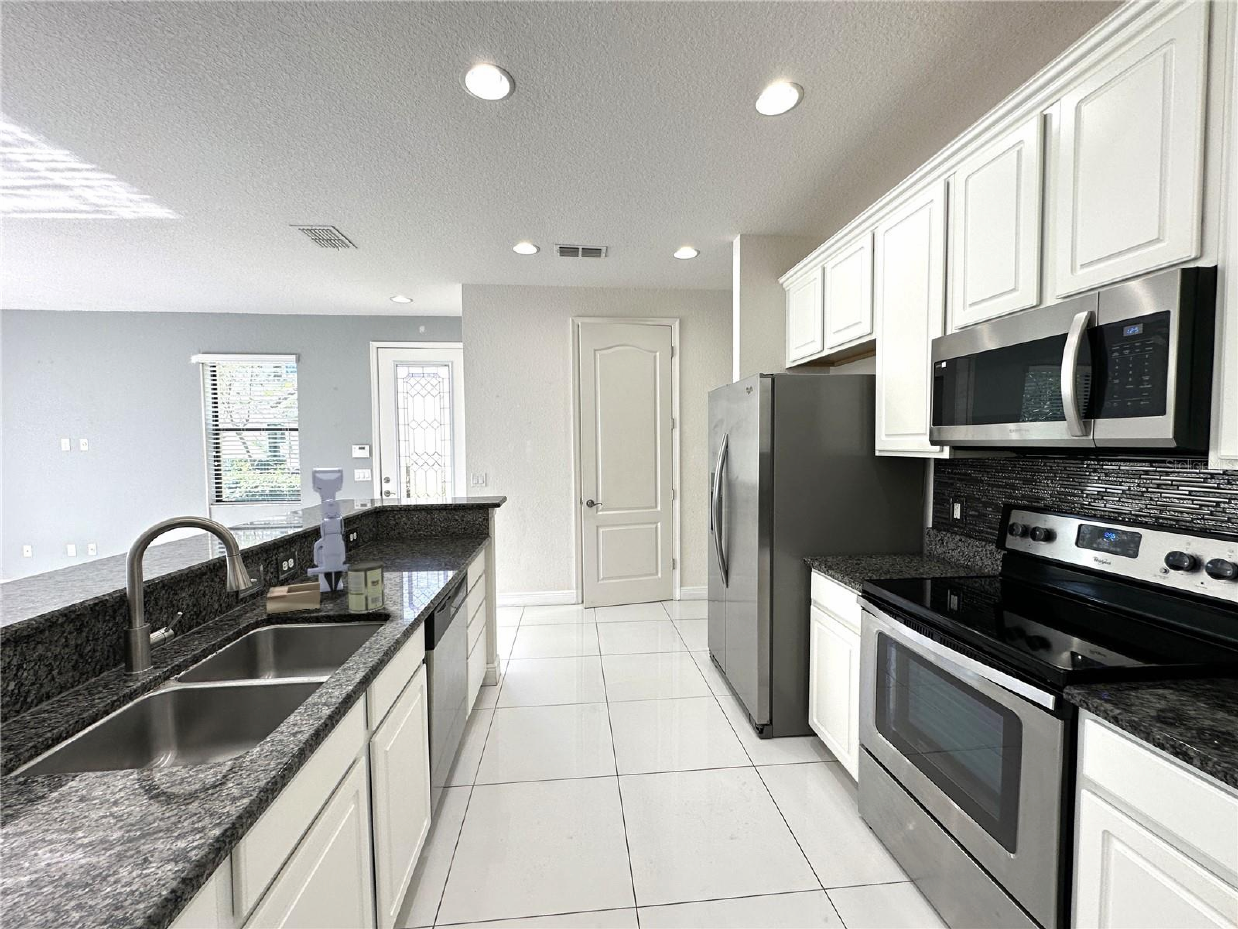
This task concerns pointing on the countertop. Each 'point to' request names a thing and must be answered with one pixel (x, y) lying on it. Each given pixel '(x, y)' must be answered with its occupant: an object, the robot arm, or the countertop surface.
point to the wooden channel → (293, 597)
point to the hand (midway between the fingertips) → (333, 594)
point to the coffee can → (365, 586)
